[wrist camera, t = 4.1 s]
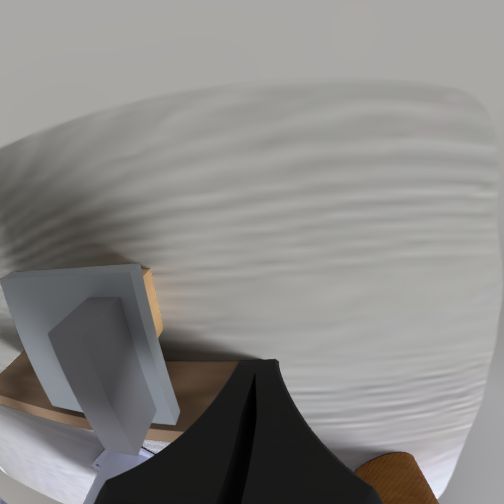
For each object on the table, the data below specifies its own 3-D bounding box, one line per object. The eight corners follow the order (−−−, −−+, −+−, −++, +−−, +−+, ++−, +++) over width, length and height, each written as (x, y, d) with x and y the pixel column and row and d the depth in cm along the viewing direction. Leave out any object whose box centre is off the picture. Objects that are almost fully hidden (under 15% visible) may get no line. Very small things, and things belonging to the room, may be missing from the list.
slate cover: (140, 263, 12) (90, 307, 8) (180, 411, 14) (159, 471, 11) (11, 272, 13) (-41, 303, 9) (60, 395, 15) (28, 438, 11)
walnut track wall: (263, 359, 19) (259, 433, 13) (265, 372, 19) (260, 445, 14) (26, 348, 21) (-16, 389, 15) (30, 358, 21) (-10, 399, 15)
